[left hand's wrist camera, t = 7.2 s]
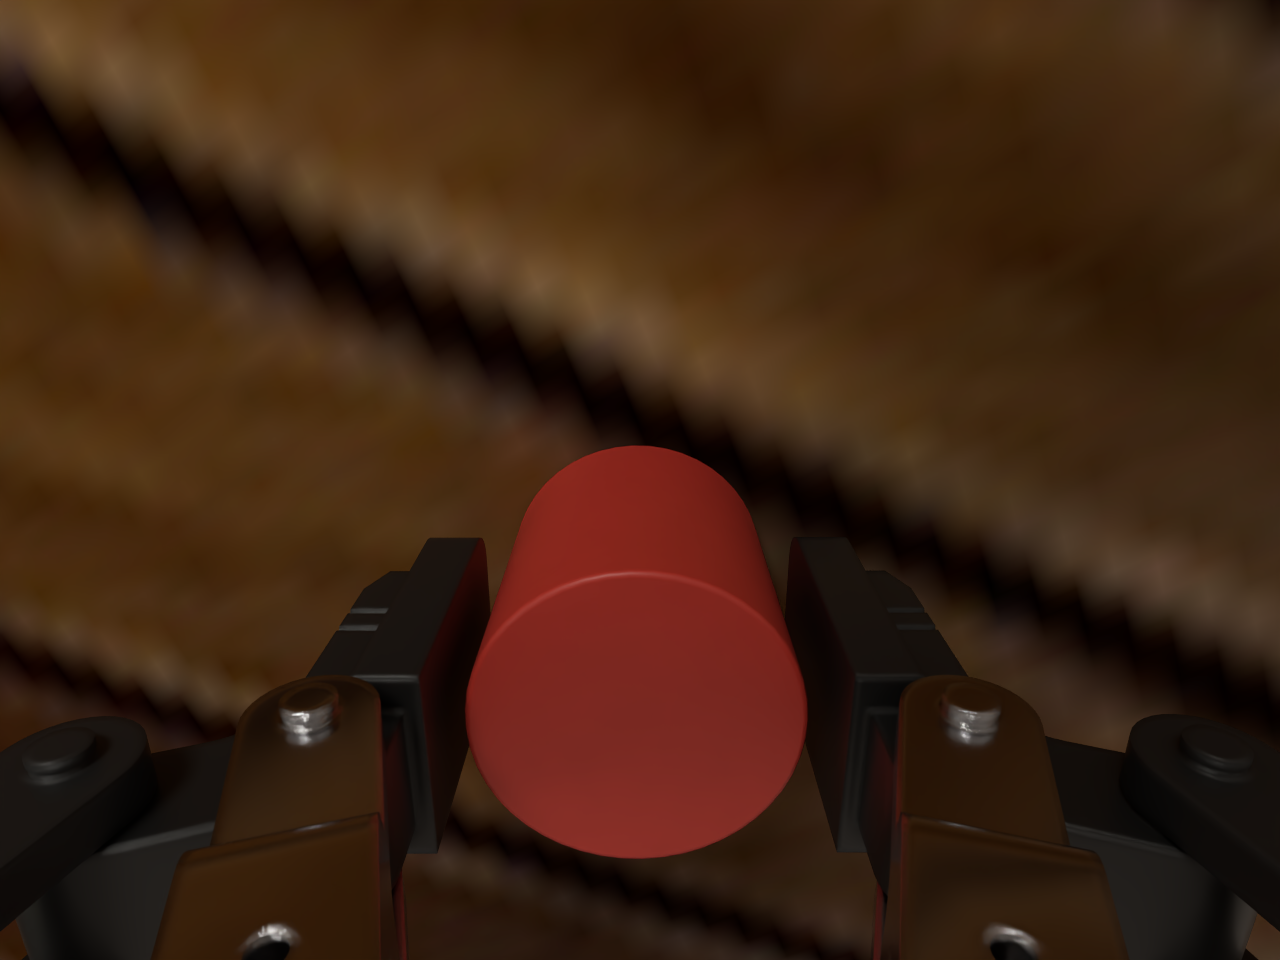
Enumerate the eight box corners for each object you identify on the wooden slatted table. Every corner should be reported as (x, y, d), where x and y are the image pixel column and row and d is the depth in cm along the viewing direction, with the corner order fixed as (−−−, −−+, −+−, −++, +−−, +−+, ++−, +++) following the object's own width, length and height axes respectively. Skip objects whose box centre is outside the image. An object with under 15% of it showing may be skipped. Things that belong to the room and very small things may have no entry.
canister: (664, 701, 14) (673, 909, 10) (471, 584, 13) (400, 760, 9) (807, 533, 13) (881, 692, 9) (607, 395, 12) (591, 504, 8)
